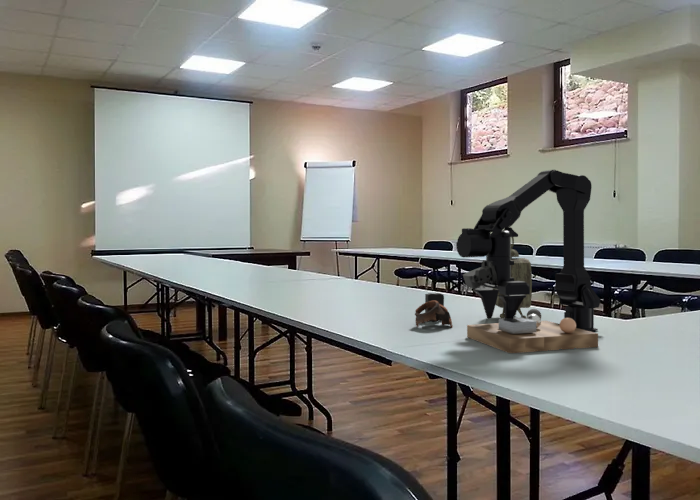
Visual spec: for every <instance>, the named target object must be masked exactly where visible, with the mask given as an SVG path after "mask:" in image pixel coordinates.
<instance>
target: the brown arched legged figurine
mask: <svg viewBox="0 0 700 500" xmlns="http://www.w3.org/2000/svg"><path fill="white" fill-rule="evenodd" d="M426 308H427V312H425V309H426ZM414 316H415V326H416V327H417V328H419V326H420V325H419V324H425V323H428V322H432V323H438V322H440V323H441V325H442V326H446V325H447V326H450V329H453V327H454V326H453V322H452V318H451V314H450V312H449V311H448V308H447V307H446V306H445V305H444V306H443V305H441V304H439V302H438V301H436V300H433V301H429V302H426V303H425V302H423V304H421V305H419V306H418V307H417V308H416V309H415V311H414ZM440 319H441V321H439V320H440ZM430 320H432V321H430Z"/></svg>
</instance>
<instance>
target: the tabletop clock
mask: <svg viewBox="0 0 700 500" xmlns="http://www.w3.org/2000/svg"><path fill="white" fill-rule="evenodd" d="M511 241H512V242H511V260H512V261H514V265H511V278H514V281H523V282H527V283H528V284H529V285H530V294H524V295H527V296H526V298H524V299H523V301H522V303H521V304H520V306H519V308H518V310H517V312H518V314H520V318H526V317H527V315H524V314H523V311H522V310H521V309H524V308H525V309H529V308H531V306H532V294H533V293H532V291H533V290H532V287H533V281H532V280H533V277H532V276H533V275H532V264H531V263H532V262H531V261H530V260H529V259H527V258H525V257H520V255H519V252H518V251H517V250H516V249H513V247H514V245H515V237H511ZM493 289H495V288H493ZM497 290H498V289H497ZM498 295H503V294H500V293H498ZM496 306H497V307H498V308H501V309H502V313H500V314H499V319H504V318H505V315H504V305H503V301H502V300H501V299H500V298H499V296H498V297H497V301H496V305H495V307H496ZM516 315H517V313H516V314H515V316H516Z"/></svg>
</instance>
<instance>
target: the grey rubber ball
mask: <svg viewBox="0 0 700 500" xmlns="http://www.w3.org/2000/svg"><path fill="white" fill-rule="evenodd" d="M530 314H536V315H538V316H539V317H540V319H541V320H542V313H541V311H540V310H539V309H536V308H531V309H528V311H527V313H526V317H527V316H528V315H530Z"/></svg>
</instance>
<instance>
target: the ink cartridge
mask: <svg viewBox="0 0 700 500" xmlns="http://www.w3.org/2000/svg"><path fill="white" fill-rule="evenodd" d="M424 295H425V296H424V297H425V300H424V303H426V302H429V301H433V300H436V301H438V302H439V304H441V305H443V306H444V307H445V295H444V294H443V293H440V292H434V293H433V292H427V293H425V294H424ZM425 312H427V308H426V309H425V310H424V313H425ZM429 322H432V320H430V321H429ZM438 322H441V319H440V320H439V321H438Z"/></svg>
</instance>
